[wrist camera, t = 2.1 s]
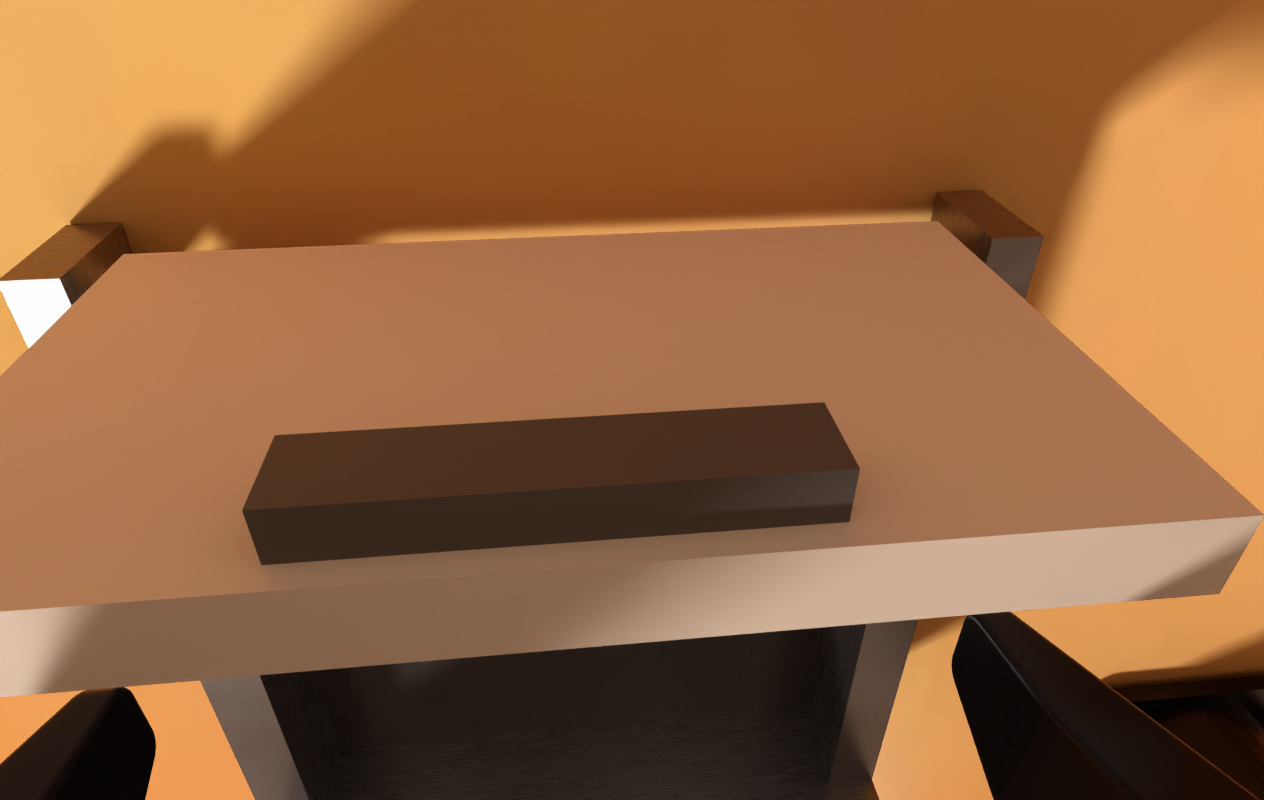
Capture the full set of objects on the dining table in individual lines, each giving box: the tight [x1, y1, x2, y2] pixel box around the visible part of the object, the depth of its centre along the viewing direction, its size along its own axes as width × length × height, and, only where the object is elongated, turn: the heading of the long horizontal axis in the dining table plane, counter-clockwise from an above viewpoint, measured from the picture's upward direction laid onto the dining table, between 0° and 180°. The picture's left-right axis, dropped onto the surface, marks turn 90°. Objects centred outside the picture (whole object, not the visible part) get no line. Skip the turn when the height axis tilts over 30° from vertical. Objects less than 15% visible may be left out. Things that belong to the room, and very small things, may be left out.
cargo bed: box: [0, 191, 1044, 800], centre depth 14 cm, size 14×15×7 cm
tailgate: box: [0, 221, 1264, 697], centre depth 10 cm, size 2×12×7 cm, turn 90°
